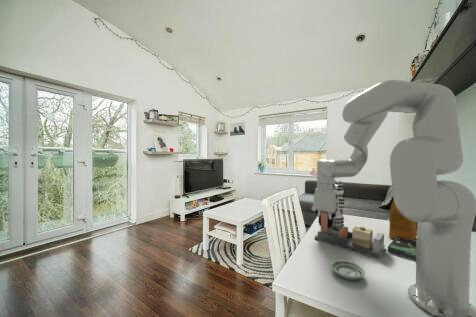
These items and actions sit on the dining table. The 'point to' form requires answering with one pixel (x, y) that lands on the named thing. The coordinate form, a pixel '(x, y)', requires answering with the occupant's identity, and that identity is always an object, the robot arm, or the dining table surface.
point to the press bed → (347, 243)
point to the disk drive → (403, 248)
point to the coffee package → (401, 225)
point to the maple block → (362, 237)
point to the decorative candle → (339, 219)
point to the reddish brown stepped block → (325, 229)
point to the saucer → (347, 269)
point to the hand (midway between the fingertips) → (325, 225)
